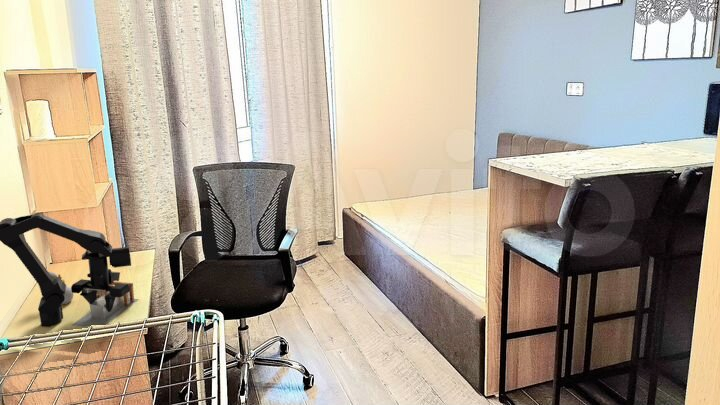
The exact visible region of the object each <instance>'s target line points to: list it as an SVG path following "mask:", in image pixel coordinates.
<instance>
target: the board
mask: <svg viewBox="0 0 720 405" xmlns="http://www.w3.org/2000/svg"><path fill="white" fill-rule="evenodd" d="M138 301H140V299H139V298H134V302H130V300H129V306H125V305H123V306H121V307H120V308H119V309H117V310H116V311H115V312H113V313H112V314H111V315H109V316H108V317H107V318H105V319H99V318H91V312H90V311H89V312H87V313H86V314H85V315H84V316H82V317H81V318H79V319H78V320H76V321H75V322H74V323H72V324H71V326H76V327H86V328H88V327H87V326H91V325H106V324H107V325H108V324H109V323H111V322H112V321H113V320H115V319H116V318H117V317H119V316H120V315H121V314H122V313H124V312H125V311H126V310H128V309H129V308H130V307H132V306H133V305H134V304H135V303H137V302H138ZM107 325H106V326H107Z"/></svg>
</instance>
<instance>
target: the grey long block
mask: <svg viewBox="0 0 720 405" xmlns="http://www.w3.org/2000/svg"><path fill="white" fill-rule="evenodd" d="M106 295H108V292H107V293H106V294H105V295H103V296H102V297H100V298H97V300H96V301H94V302H93V303H91V304H89V312H91V318H99V319H105V318H107V317H108V316H109V315H111V314H112V313H113V312H115V311H116V310H117V309H119V308H120V307H121V306H123V305H124V296H122V297H116V298H115V301H114V304H113V307H112V310H111V311H110V312H109V311H108V309H107V305H106V301H105V298H104V297H105V296H106ZM128 300H130V295H129V292H128Z"/></svg>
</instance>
